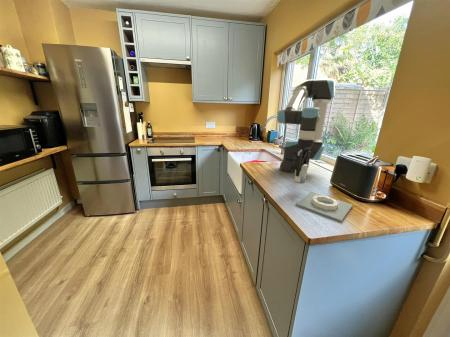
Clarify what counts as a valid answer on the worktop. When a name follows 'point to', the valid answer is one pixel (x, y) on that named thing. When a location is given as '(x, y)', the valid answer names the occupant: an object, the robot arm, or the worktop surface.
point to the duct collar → (302, 173)
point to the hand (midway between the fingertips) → (299, 179)
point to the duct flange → (325, 206)
